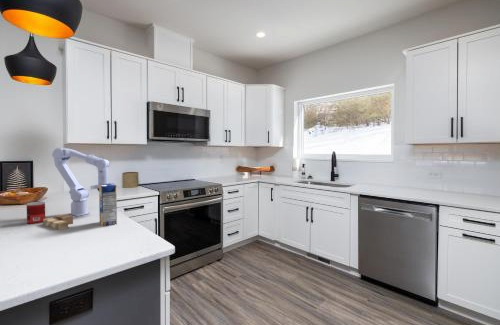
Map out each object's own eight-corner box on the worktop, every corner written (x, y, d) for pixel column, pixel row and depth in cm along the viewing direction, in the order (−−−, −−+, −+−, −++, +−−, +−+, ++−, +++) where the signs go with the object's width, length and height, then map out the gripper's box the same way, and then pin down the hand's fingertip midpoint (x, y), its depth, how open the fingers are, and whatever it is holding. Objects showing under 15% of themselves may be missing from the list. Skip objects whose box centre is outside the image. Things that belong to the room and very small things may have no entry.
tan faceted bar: (43, 224, 135) (43, 219, 135) (52, 222, 139) (52, 217, 139) (59, 229, 127) (59, 224, 126) (68, 227, 130) (68, 222, 130)
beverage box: (102, 226, 133) (102, 186, 132) (99, 221, 142) (99, 184, 141) (116, 224, 137) (116, 185, 136) (112, 220, 146) (112, 183, 145)
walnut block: (55, 223, 137) (55, 216, 137) (65, 221, 142) (65, 214, 142) (62, 226, 133) (62, 218, 133) (73, 223, 138) (73, 216, 138)
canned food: (48, 220, 143) (48, 201, 143) (35, 224, 136) (35, 204, 135) (37, 219, 144) (36, 201, 144) (23, 223, 136) (22, 204, 136)
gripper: (94, 179, 150) (95, 201, 150) (117, 177, 162) (118, 197, 163) (88, 178, 153) (89, 200, 154) (111, 176, 166) (111, 196, 166)
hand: (103, 198), depth 159 cm, fingers closed
